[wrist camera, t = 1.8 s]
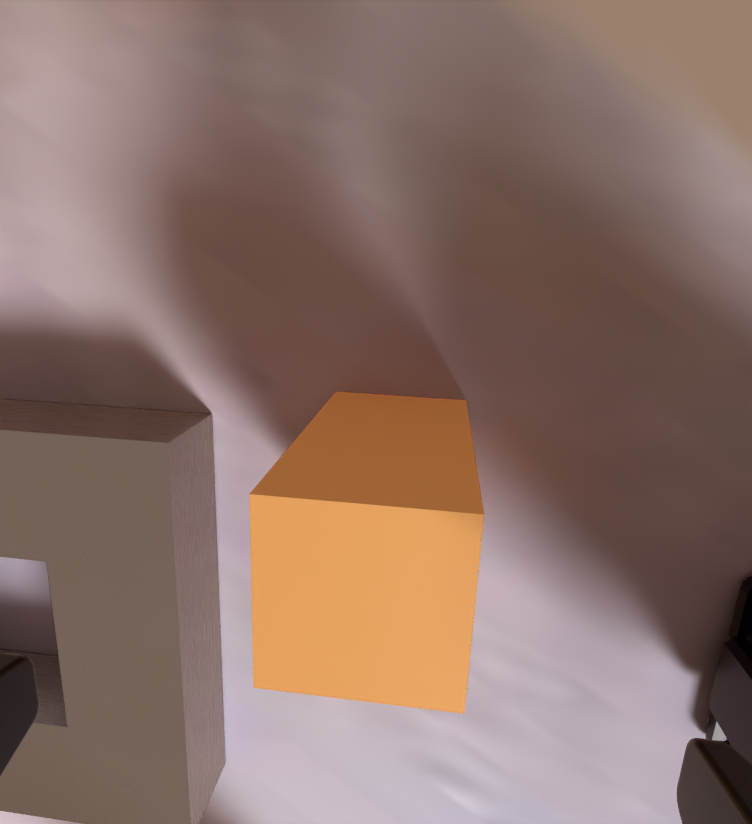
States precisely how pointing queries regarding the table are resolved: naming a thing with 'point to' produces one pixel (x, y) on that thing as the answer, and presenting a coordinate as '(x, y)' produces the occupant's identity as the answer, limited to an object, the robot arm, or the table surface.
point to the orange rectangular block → (369, 554)
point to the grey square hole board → (117, 611)
